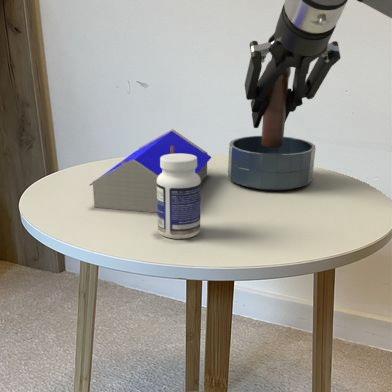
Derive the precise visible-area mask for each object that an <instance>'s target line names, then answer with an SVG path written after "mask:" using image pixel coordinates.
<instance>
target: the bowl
mask: <svg viewBox="0 0 392 392" xmlns="http://www.w3.org/2000/svg"><path fill="white" fill-rule="evenodd" d="M261 138H262V135H249V136H243V137H242V136H241V137H238V138H234V139H232V140H230V142H229V144H228V164H227V177H228V179H229V180H230V181H231V182H233V183H236V184H237V185H240V186H243V187H246V188H249V189H255V190H260V191H275V192H276V191H288V190H294V189H297V188H301V187H305V186H308V185H309V184H310V183H312V182H313V174H314V166H315V157H316V144H315V143H313V142H311V141H309V140H305V139H301V138H296V137H291V136H284V137H283V146H282V147H277V148H271V147H264V146H262V145H261Z"/></svg>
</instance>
